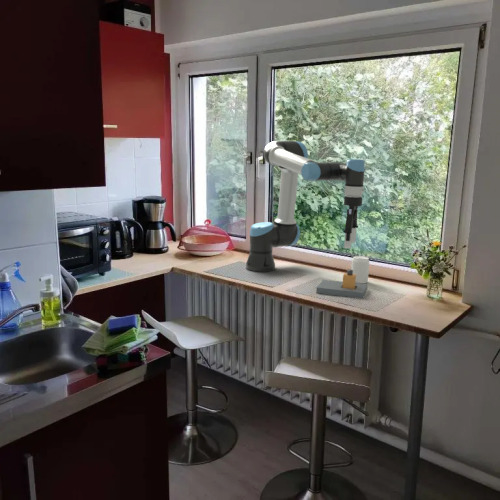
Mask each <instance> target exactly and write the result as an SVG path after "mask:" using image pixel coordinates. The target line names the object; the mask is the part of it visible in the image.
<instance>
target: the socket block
mask: <svg viewBox="0 0 500 500" xmlns="http://www.w3.org/2000/svg"><path fill="white" fill-rule="evenodd" d="M342 287H343V281H339V280H337V281H336V280H330V279H329V280H328V279H322V280H321V282H320V283H319V284H318V285H317V286H316V289H315V291H316V294H320V295H321V294H323V295H331V296H337V297H338V296H339V297H346V296H347V297H346V298H348V297H349V298H354V297H356V298H357V299H362V298H363V299H364V297H365V295H366V292H367V291H366V290H368V284H367V283H365V284H357V283H356V287H355V289H350V288H342ZM356 298H355V299H356Z"/></svg>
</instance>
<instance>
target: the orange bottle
mask: <svg viewBox="0 0 500 500" xmlns="http://www.w3.org/2000/svg"><path fill="white" fill-rule="evenodd" d="M342 276H343V277H342V282H343V287H342V288H350V289H355V287H356V274H353V270H351V269H347V271H346V272H344V273H343V275H342Z"/></svg>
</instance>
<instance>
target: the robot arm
mask: <svg viewBox="0 0 500 500" xmlns="http://www.w3.org/2000/svg"><path fill="white" fill-rule="evenodd" d="M307 148H308V147H306V145H305V143H303V142H301V141H297V140H296V141H295V140H273V141H271V142H269V143H268V144H266V145H265V147H264V149H263V158H264V160H265V162H266V163H268V164H270V165H272V166H274V167H278V169H279V170H280V171H281V173H280V183H279V195H278V208H277V217H276V218H275V219H274V220H273V222H270V221H265V222H263V221H262V222H257V223H254V224H252V225H251V226H250V230H249V254H248V257H247V260H246V262H245V263H246V264H245V269H246V270H249V271H253V272H272V271H274V270H276V262H275V259H274V256H273V248H281V247H291V246H294V245H296V244H297V243H298V242H299V240H300V237H301V230H300V227H299V225H298V223H297V221H296V220H295V210H296V203H297V202H296V200H297V189H298V188H297V187H298V180H299V179H298V178H299V175H300V176H301V177H302V179H303V180H305V181H311V182H318V181H320V182H321V181H343V182H344V183H345V184H344V192H343V193H344V199H343V205H344V206H346V207H347V206H348V208H346V209H347V210H346V219H345V227H344V230H343V233H344V245H343V249H352V243H353V244H355V243H356V237H357V229H359V225H358V207H361V206H363V197H362V196H363V193H364V192H365V189H364V182H365V171H366V168H365V167H366V162H365V160H364V159H357V158H349V159H347V160H346V163H345V162H338V161H337V162H318V161H315V160H312V159H310V158H309V153H308V149H307Z"/></svg>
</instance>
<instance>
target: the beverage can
mask: <svg viewBox="0 0 500 500" xmlns="http://www.w3.org/2000/svg"><path fill="white" fill-rule="evenodd" d="M369 259H370V258H369V257H367V256H364V255H353V256H352V259H351V266H350V270H353V274H356V283H357V284H367V283H368V281H369V274H370V273H369V272H370V260H369Z"/></svg>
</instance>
